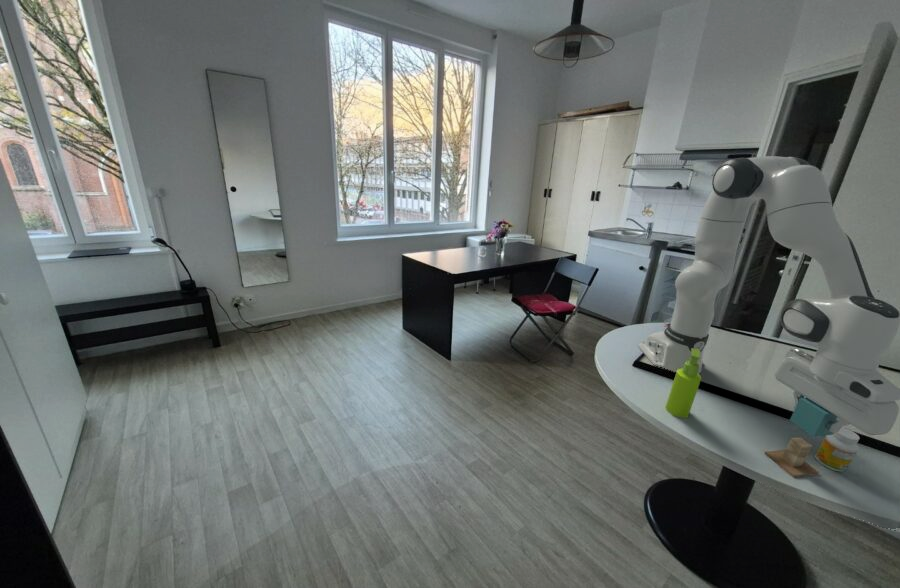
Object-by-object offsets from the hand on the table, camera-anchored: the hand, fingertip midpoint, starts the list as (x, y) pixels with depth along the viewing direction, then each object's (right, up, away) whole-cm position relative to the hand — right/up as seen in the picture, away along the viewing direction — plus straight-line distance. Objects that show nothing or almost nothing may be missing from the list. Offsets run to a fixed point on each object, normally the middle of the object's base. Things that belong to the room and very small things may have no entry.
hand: (814, 419), depth 79 cm
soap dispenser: (-17, -6, +23) cm, 29 cm away
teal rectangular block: (0, -2, +1) cm, 2 cm away
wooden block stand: (0, -13, +5) cm, 14 cm away
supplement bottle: (+10, -13, +6) cm, 17 cm away
